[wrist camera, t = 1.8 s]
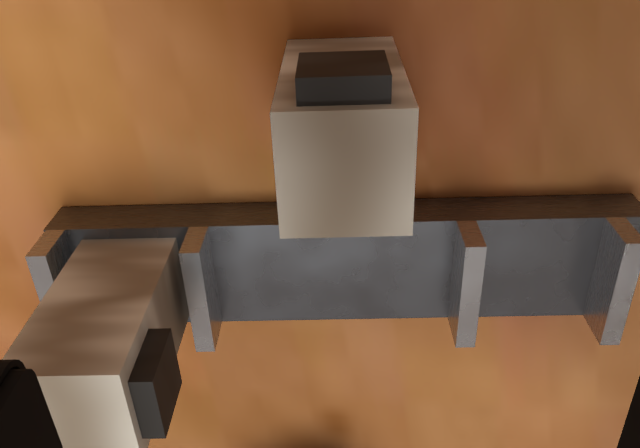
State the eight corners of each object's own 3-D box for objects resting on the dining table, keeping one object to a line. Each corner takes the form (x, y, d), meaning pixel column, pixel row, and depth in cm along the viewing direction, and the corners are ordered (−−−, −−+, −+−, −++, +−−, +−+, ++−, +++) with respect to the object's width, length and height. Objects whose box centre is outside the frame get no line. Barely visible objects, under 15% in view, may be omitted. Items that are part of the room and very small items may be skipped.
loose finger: (393, 14, 23) (420, 78, 16) (390, 134, 25) (412, 235, 18) (286, 18, 23) (267, 83, 16) (293, 137, 25) (279, 238, 18)
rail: (631, 193, 26) (677, 242, 23) (608, 287, 29) (645, 344, 25) (61, 207, 27) (22, 256, 24) (87, 297, 30) (55, 353, 26)
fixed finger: (195, 237, 26) (145, 374, 19) (207, 312, 28) (166, 462, 21) (81, 239, 26) (-10, 377, 19) (102, 314, 28) (26, 463, 21)
